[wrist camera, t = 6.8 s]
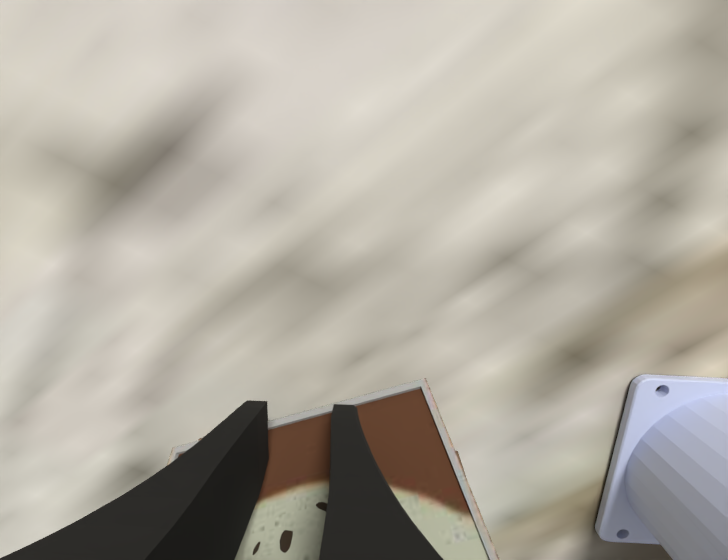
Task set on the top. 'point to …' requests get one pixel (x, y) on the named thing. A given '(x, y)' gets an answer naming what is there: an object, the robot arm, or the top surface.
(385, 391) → the food container
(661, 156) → the top surface
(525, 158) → the top surface
